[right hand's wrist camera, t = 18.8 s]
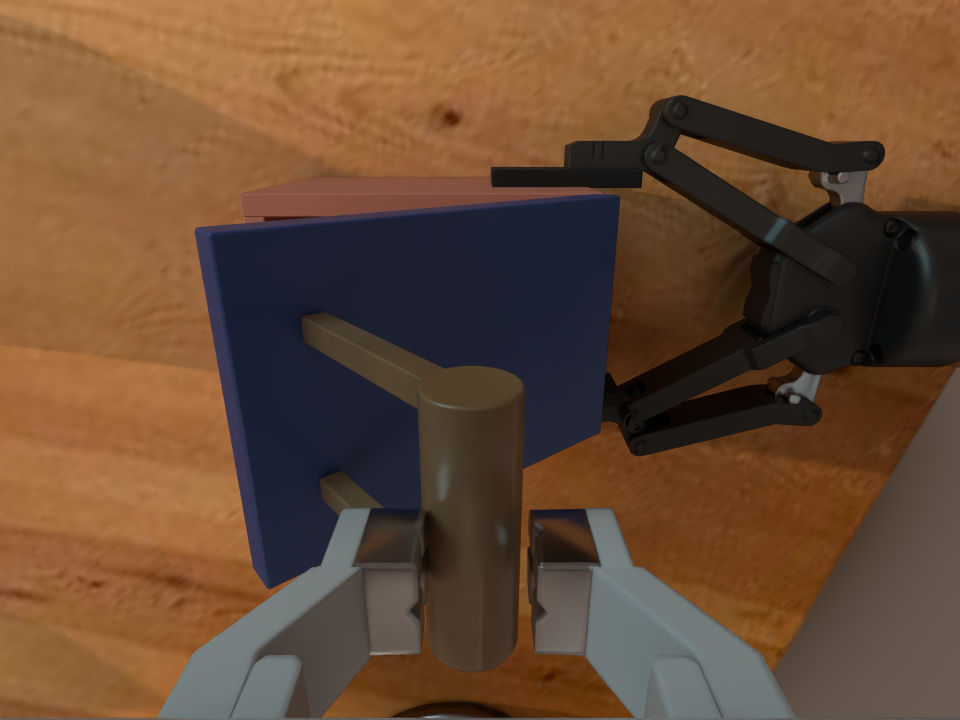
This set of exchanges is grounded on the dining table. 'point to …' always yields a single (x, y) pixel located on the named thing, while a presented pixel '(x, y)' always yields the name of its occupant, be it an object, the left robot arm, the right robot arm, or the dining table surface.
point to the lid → (412, 383)
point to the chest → (382, 196)
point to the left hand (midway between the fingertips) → (490, 290)
